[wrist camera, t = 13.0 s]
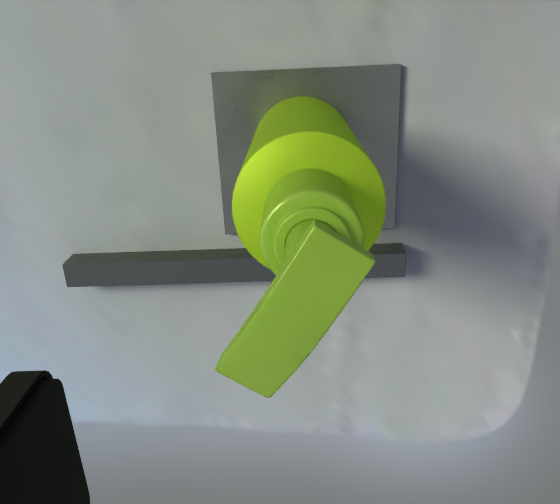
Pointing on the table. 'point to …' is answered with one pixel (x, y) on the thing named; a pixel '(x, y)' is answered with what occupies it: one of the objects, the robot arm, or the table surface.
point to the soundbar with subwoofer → (232, 152)
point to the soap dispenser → (301, 235)
